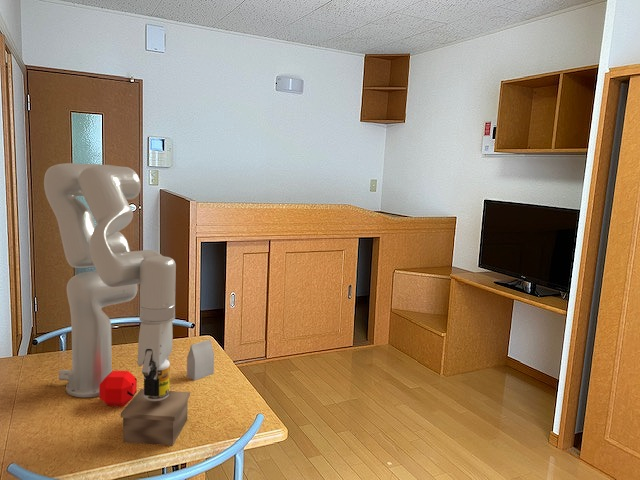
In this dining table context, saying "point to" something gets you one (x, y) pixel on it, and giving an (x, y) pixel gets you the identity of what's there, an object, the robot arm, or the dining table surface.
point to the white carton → (200, 360)
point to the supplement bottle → (161, 381)
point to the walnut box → (155, 419)
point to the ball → (118, 388)
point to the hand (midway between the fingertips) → (156, 388)
